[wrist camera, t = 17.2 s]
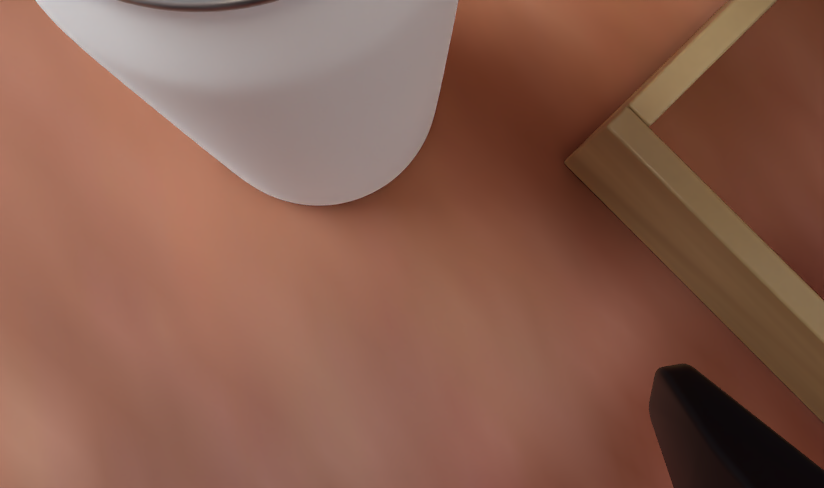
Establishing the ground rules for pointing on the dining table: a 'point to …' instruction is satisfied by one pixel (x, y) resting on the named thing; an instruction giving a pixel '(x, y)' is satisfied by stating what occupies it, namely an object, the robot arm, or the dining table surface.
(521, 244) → the dining table surface
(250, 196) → the dining table surface
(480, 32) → the dining table surface
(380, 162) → the can
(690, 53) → the wooden frame
